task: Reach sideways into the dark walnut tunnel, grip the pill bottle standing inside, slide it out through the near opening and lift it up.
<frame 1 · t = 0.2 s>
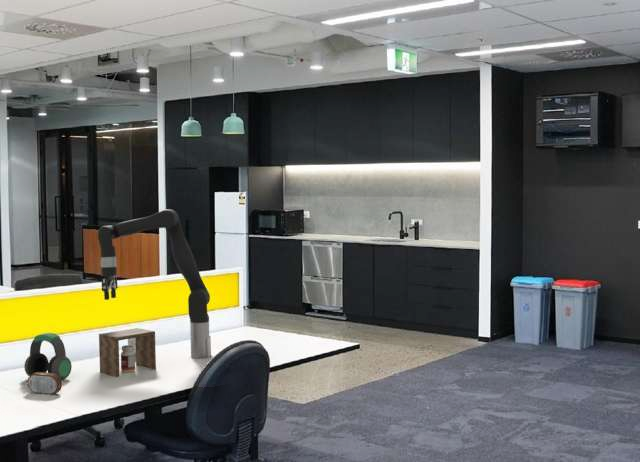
hand: (110, 298, 396), 29 cm above the table, tool pointing down, fingers open, 8 cm apart
tunnel: (128, 370, 364), on the table
ink box: (137, 356, 397), on the table
headphones: (48, 379, 350), on the table
pill bottle: (128, 371, 364), on the table
tin: (44, 394, 324), on the table
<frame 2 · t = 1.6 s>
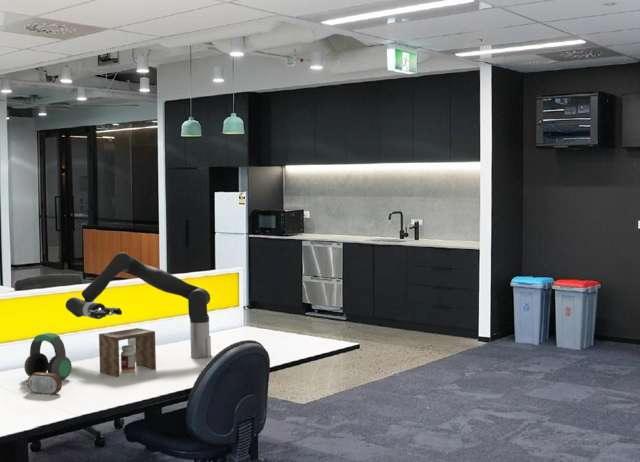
hand: (113, 313, 370), 25 cm above the table, tool horizontal, fingers open, 8 cm apart
nothing on the table moved.
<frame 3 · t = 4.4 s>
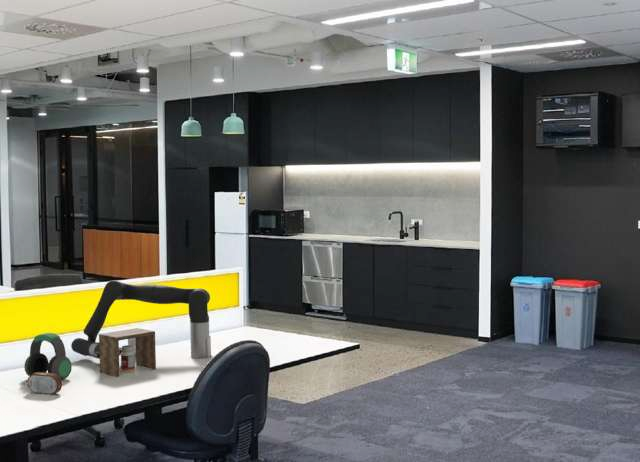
hand: (119, 355, 368), 6 cm above the table, tool horizontal, fingers open, 8 cm apart
nothing on the table moved.
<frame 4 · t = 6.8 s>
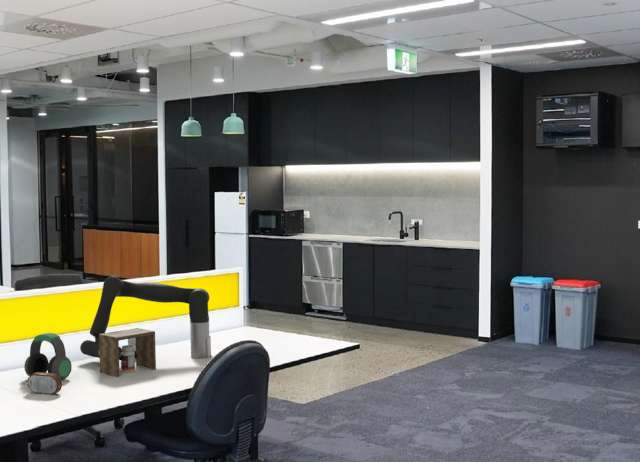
hand: (130, 357, 362), 7 cm above the table, tool horizontal, fingers closed on pill bottle, 6 cm apart
pill bottle: (128, 371, 364), on the table, touching gripper
everything else where it was.
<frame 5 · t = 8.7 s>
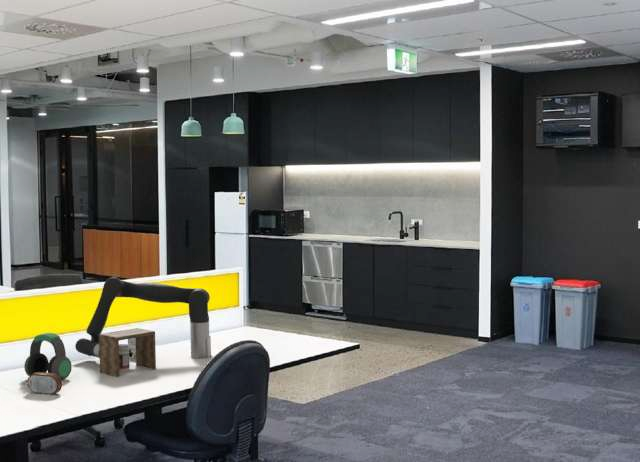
hand: (125, 356, 365), 7 cm above the table, tool horizontal, fingers closed on pill bottle, 6 cm apart
pill bottle: (122, 369, 367), on the table, touching gripper
everything else where it was.
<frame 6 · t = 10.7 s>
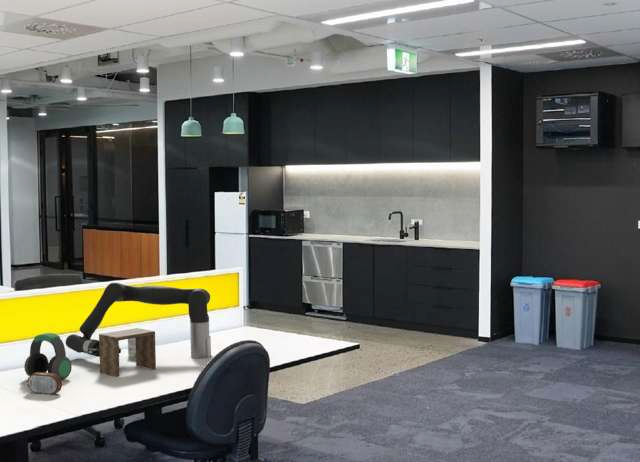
hand: (113, 352, 371), 7 cm above the table, tool horizontal, fingers closed on pill bottle, 6 cm apart
pill bottle: (111, 365, 373), on the table, touching gripper
everything else where it was.
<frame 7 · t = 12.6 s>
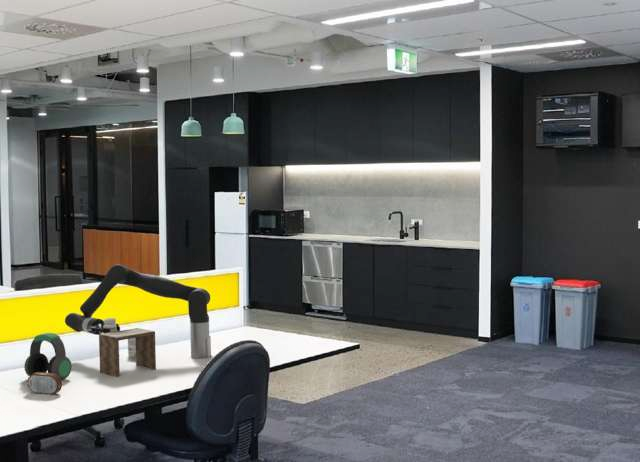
hand: (112, 329, 371), 18 cm above the table, tool horizontal, fingers closed on pill bottle, 6 cm apart
pill bottle: (110, 343, 373), point 11 cm above the table, touching gripper
everything else where it was.
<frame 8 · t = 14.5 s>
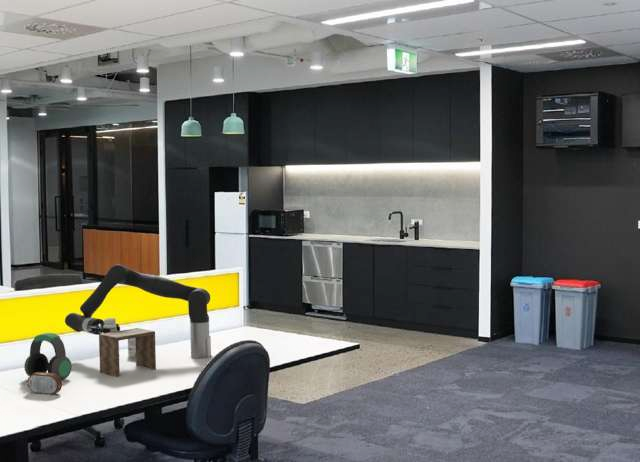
hand: (112, 329, 371), 18 cm above the table, tool horizontal, fingers closed on pill bottle, 6 cm apart
pill bottle: (110, 343, 373), point 11 cm above the table, touching gripper
everything else where it was.
at the end: the gripper is holding pill bottle; pill bottle inside the target area (0.3 cm from its centre), point 10.9 cm above the table; pill bottle touching gripper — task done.
